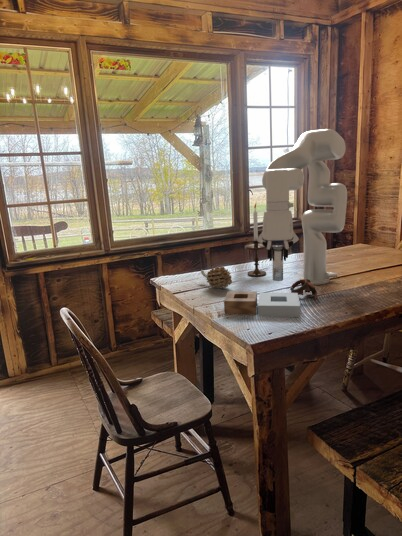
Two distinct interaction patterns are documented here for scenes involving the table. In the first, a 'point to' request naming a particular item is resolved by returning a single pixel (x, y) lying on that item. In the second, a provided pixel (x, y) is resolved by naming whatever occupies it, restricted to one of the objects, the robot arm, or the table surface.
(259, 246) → the candlestick
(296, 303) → the socket block
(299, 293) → the cracked clay ring
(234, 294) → the mount block
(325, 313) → the table surface
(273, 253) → the lock pin
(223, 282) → the pine cone
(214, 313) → the table surface
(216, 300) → the table surface
